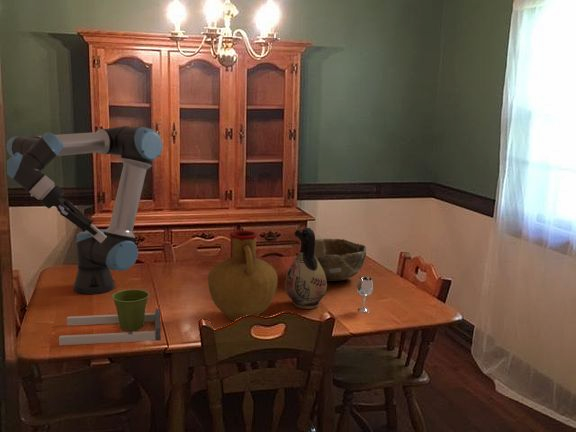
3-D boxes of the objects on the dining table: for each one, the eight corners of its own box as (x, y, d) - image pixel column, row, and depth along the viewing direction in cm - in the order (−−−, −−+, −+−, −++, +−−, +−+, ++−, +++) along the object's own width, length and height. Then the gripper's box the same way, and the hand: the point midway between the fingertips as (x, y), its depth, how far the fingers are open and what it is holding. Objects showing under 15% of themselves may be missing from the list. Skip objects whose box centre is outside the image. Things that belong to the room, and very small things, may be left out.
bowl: (349, 294, 245) (350, 257, 242) (289, 282, 258) (290, 247, 255) (375, 277, 268) (377, 243, 265) (319, 267, 281) (320, 235, 278)
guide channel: (59, 345, 190) (58, 333, 189) (67, 323, 207) (67, 312, 206) (160, 340, 195) (160, 328, 195) (160, 319, 213) (160, 308, 212)
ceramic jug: (278, 300, 235) (280, 222, 229) (315, 296, 241) (318, 220, 235) (295, 315, 220) (297, 232, 214) (335, 311, 226) (338, 230, 220)
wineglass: (367, 314, 223) (369, 282, 221) (353, 311, 226) (354, 279, 224) (374, 309, 228) (376, 278, 226) (360, 306, 231) (361, 275, 229)
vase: (284, 327, 209) (287, 239, 203) (214, 333, 202) (214, 243, 196) (266, 304, 231) (268, 224, 225) (202, 308, 224) (202, 227, 219)
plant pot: (105, 328, 204) (104, 295, 202) (134, 318, 213) (133, 287, 211) (128, 337, 197) (127, 303, 195) (157, 327, 206) (157, 294, 204)
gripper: (42, 197, 209) (97, 242, 217) (36, 204, 197) (94, 253, 204) (58, 180, 209) (112, 227, 217) (53, 187, 197) (110, 236, 204)
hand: (103, 239), depth 210 cm, fingers closed
